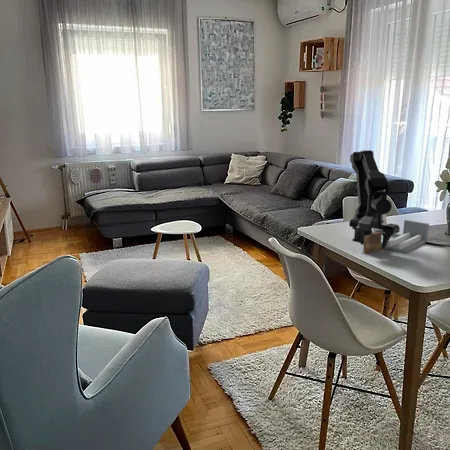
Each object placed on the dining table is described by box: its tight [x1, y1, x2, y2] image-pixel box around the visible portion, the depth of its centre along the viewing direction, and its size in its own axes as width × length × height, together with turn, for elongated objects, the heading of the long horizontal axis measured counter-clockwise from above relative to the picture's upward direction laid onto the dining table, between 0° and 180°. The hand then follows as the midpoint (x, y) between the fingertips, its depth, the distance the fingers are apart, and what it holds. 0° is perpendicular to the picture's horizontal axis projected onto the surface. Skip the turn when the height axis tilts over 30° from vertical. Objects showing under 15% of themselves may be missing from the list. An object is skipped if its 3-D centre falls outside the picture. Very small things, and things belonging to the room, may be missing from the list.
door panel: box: [363, 231, 383, 255], centre depth 175 cm, size 2×10×7 cm, turn 133°
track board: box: [384, 219, 430, 254], centre depth 182 cm, size 10×20×8 cm, turn 133°
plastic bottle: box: [372, 190, 389, 233], centre depth 201 cm, size 6×7×20 cm
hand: (372, 246), depth 176 cm, fingers open, 9 cm apart
